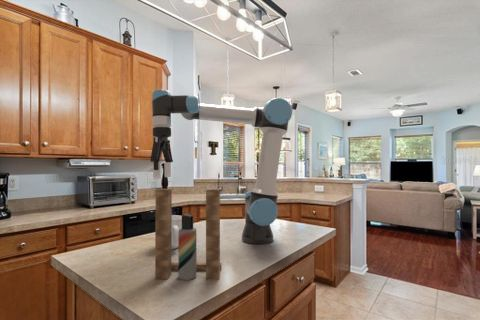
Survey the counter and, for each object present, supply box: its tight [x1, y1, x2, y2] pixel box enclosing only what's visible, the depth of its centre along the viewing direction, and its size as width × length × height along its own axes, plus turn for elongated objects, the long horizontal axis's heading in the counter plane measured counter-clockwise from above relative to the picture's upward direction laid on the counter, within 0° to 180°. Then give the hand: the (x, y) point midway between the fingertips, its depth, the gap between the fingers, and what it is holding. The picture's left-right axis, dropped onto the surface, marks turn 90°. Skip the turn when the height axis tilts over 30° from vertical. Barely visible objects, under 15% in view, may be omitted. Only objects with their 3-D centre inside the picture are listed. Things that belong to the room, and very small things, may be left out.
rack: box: [154, 188, 222, 281], centre depth 88 cm, size 20×9×28 cm, turn 89°
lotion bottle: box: [177, 213, 197, 281], centre depth 86 cm, size 6×6×20 cm
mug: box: [172, 214, 183, 250], centre depth 115 cm, size 15×11×13 cm
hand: (162, 177), depth 112 cm, fingers open, 13 cm apart
